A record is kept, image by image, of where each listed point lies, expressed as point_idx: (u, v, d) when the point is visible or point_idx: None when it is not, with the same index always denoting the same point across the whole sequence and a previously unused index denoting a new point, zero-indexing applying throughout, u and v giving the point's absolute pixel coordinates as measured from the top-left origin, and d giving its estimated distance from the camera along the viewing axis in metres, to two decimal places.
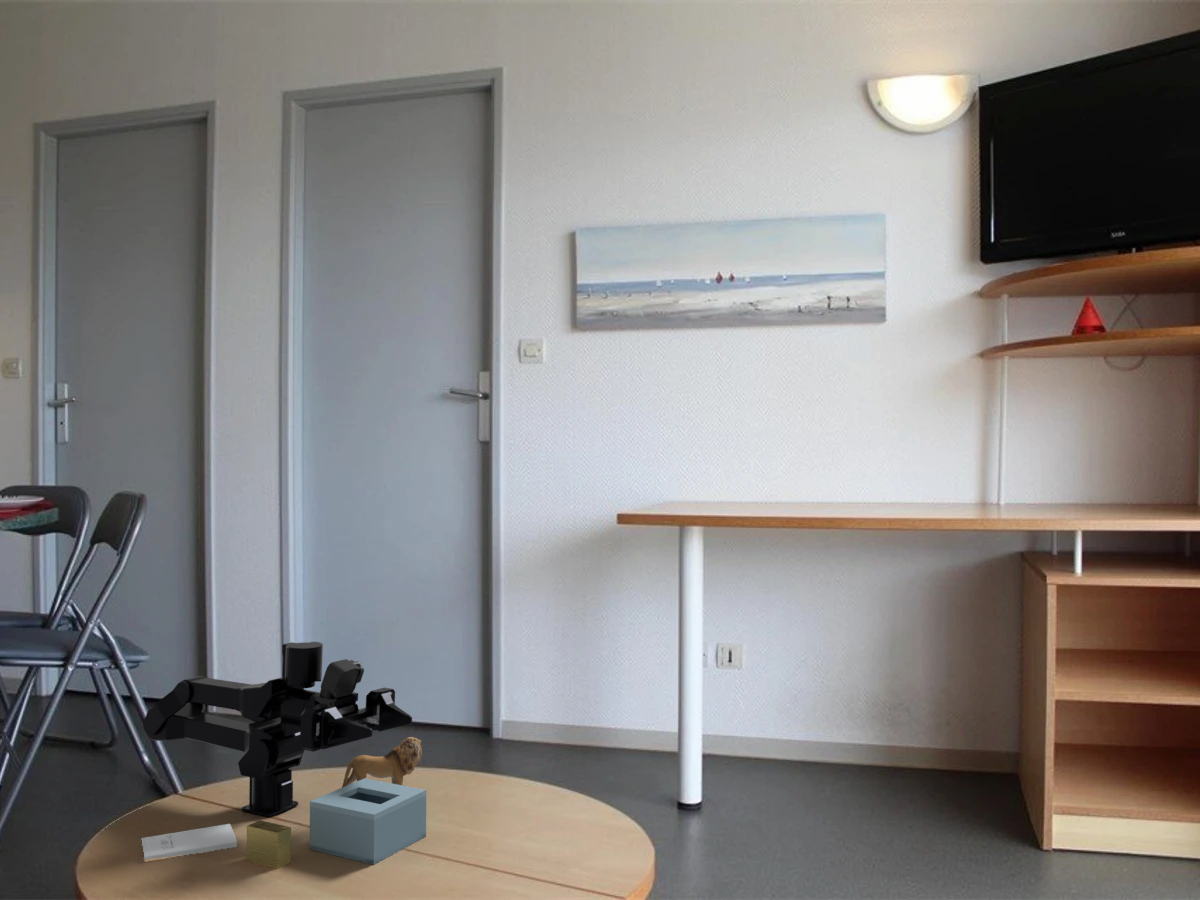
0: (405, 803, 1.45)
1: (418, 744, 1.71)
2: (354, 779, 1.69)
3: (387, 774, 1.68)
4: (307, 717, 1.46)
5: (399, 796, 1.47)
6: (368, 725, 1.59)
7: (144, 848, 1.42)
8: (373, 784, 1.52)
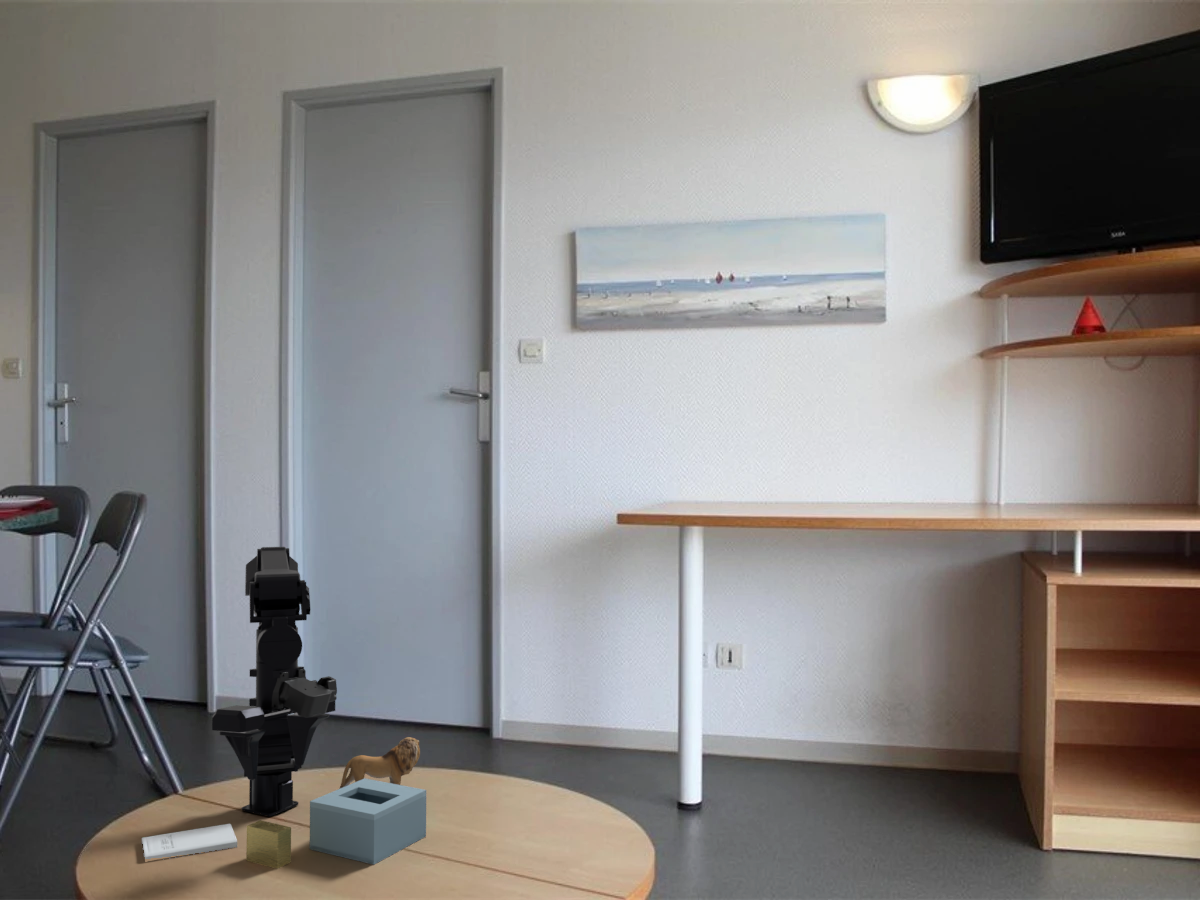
0: (405, 803, 1.45)
1: (416, 744, 1.71)
2: (352, 779, 1.69)
3: (385, 774, 1.68)
4: (236, 725, 1.32)
5: (399, 796, 1.47)
6: None
7: (144, 848, 1.42)
8: (373, 784, 1.52)
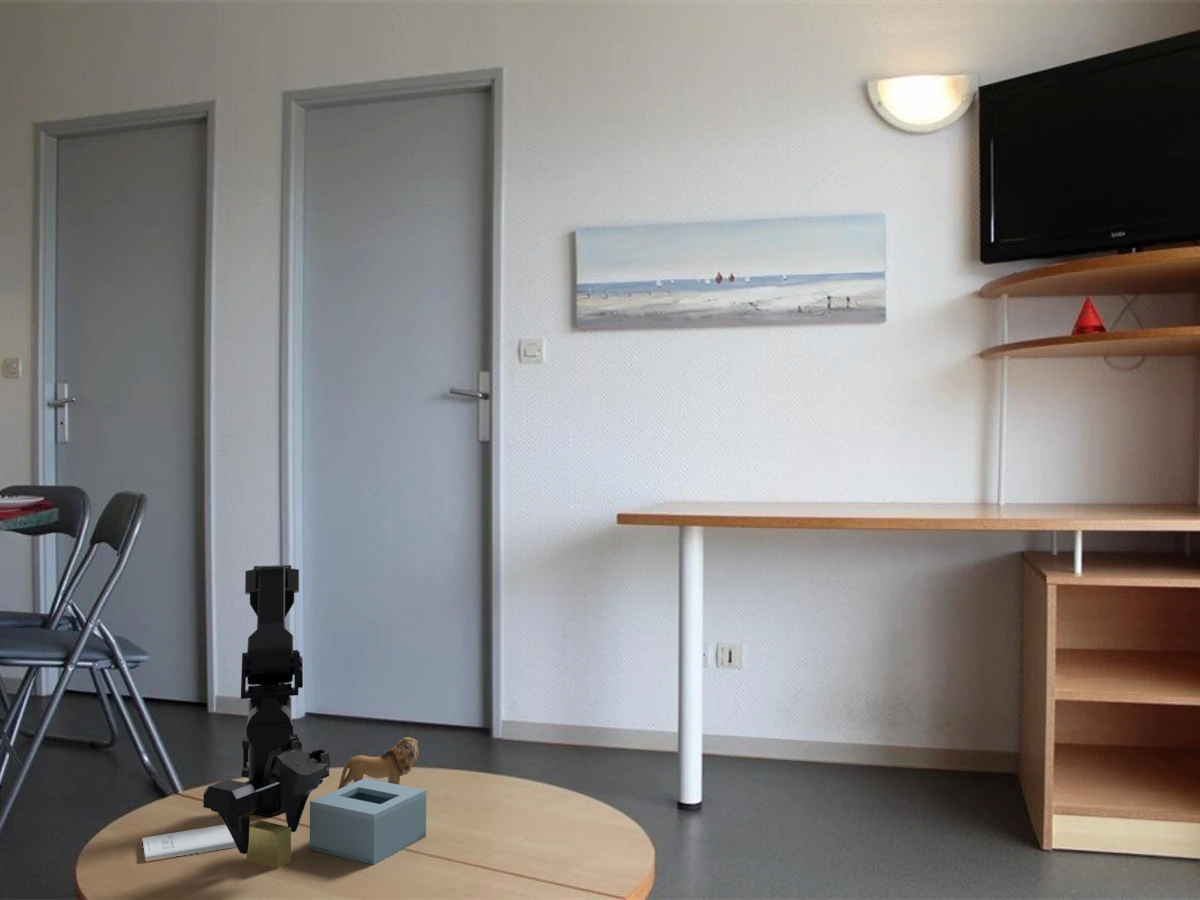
0: (405, 803, 1.45)
1: (415, 744, 1.71)
2: (351, 779, 1.69)
3: (384, 774, 1.68)
4: (227, 805, 1.31)
5: (399, 796, 1.47)
6: None
7: (145, 848, 1.42)
8: (373, 784, 1.52)
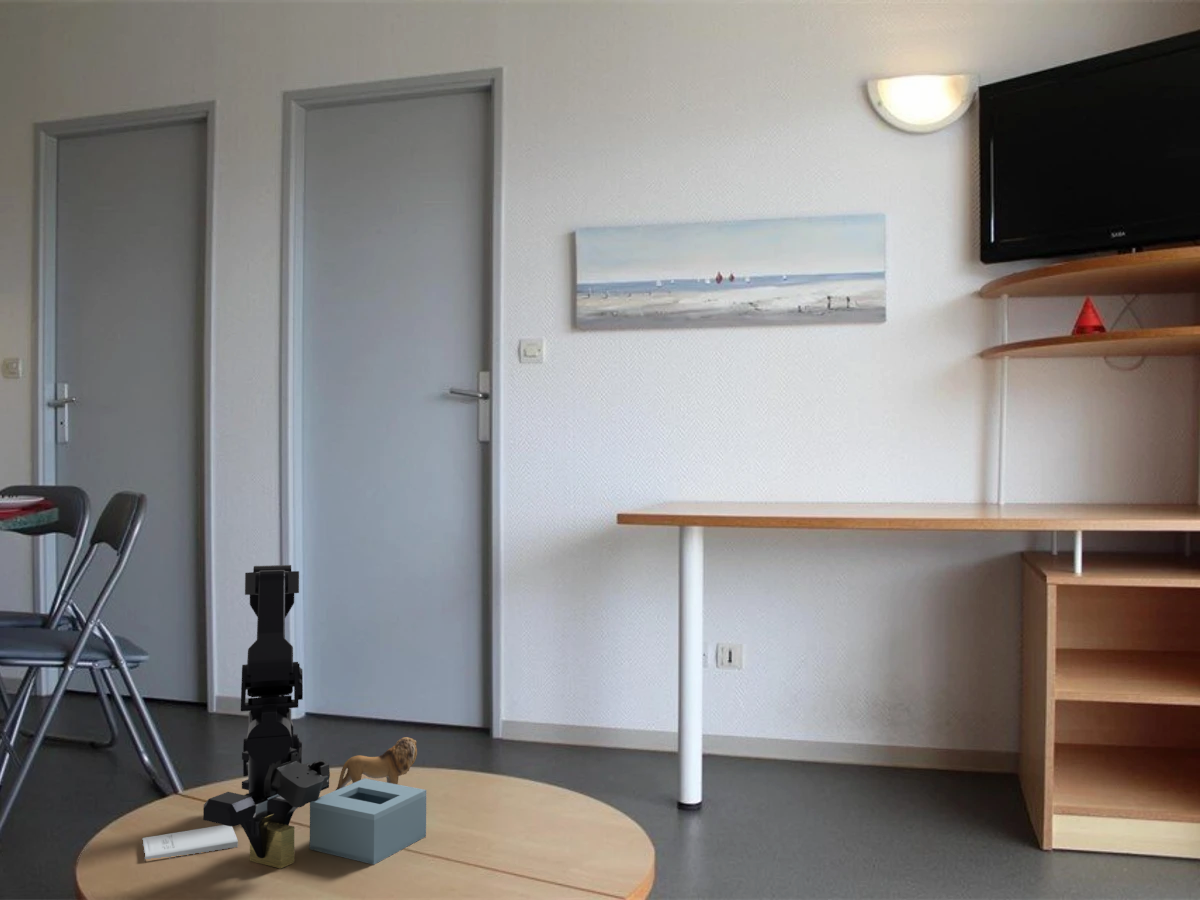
0: (405, 803, 1.45)
1: (413, 744, 1.71)
2: (349, 779, 1.69)
3: (382, 774, 1.68)
4: (227, 818, 1.31)
5: (399, 796, 1.47)
6: None
7: (145, 848, 1.42)
8: (373, 784, 1.52)
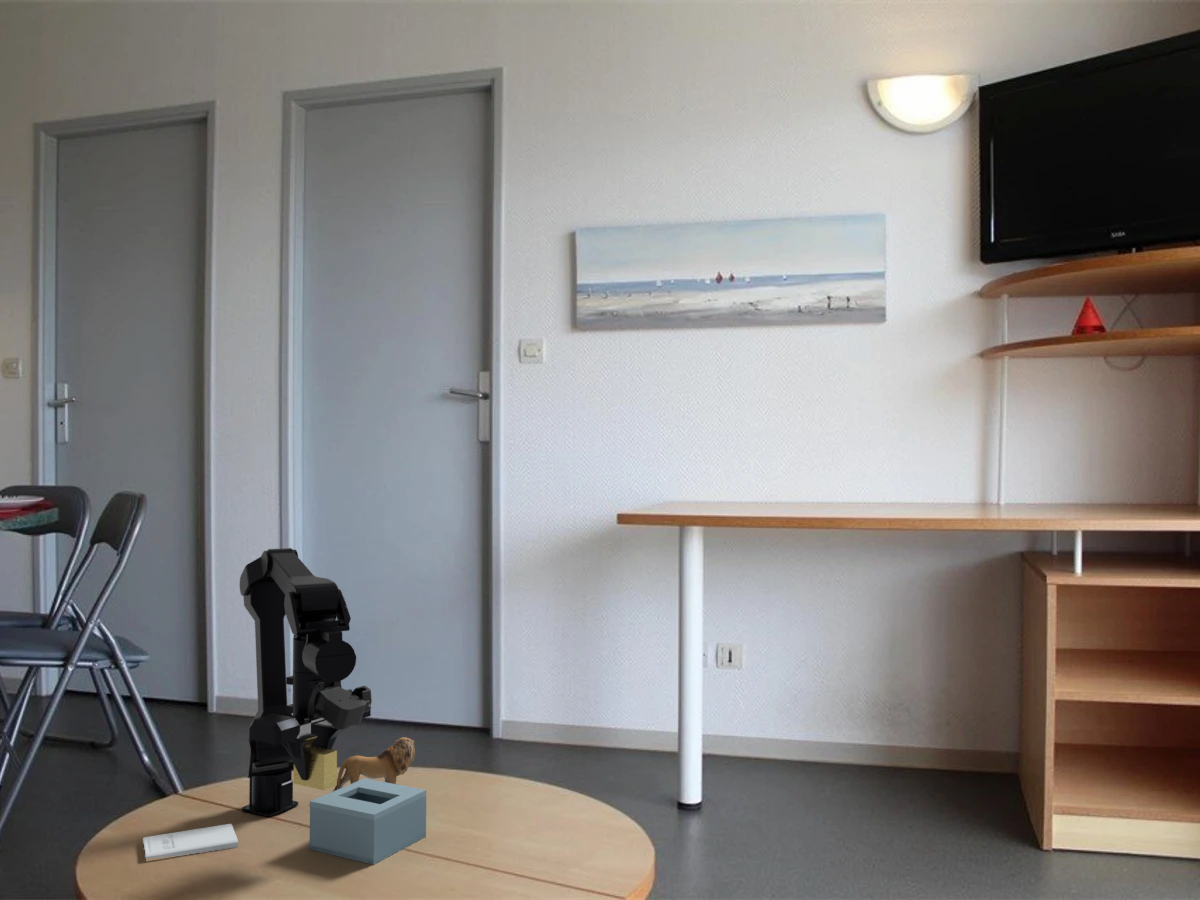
0: (405, 803, 1.45)
1: (411, 744, 1.71)
2: (347, 780, 1.69)
3: (380, 774, 1.68)
4: (272, 737, 1.34)
5: (399, 796, 1.47)
6: None
7: (145, 848, 1.42)
8: (373, 784, 1.52)
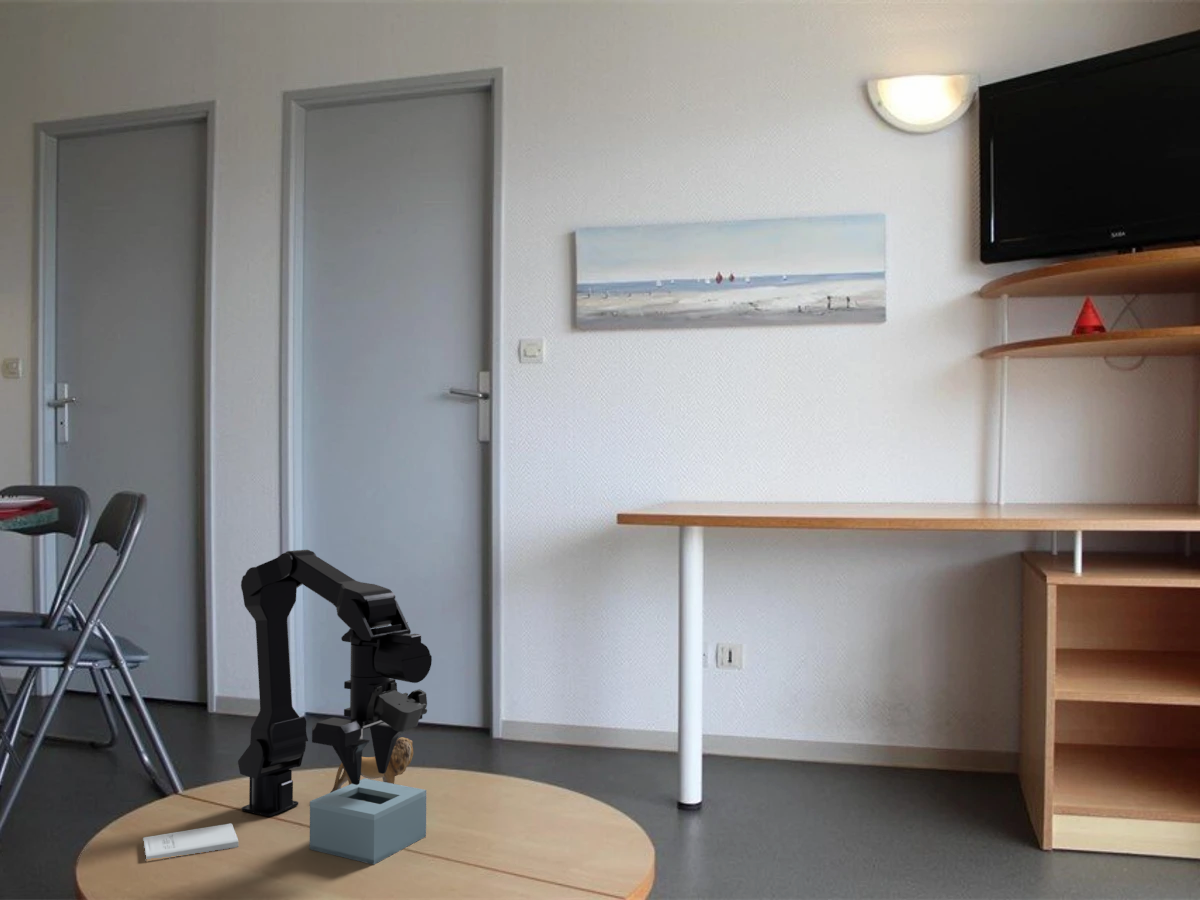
0: (405, 803, 1.45)
1: (410, 744, 1.71)
2: (345, 780, 1.69)
3: (379, 775, 1.68)
4: (336, 740, 1.38)
5: (399, 796, 1.47)
6: None
7: (146, 848, 1.42)
8: (373, 784, 1.52)
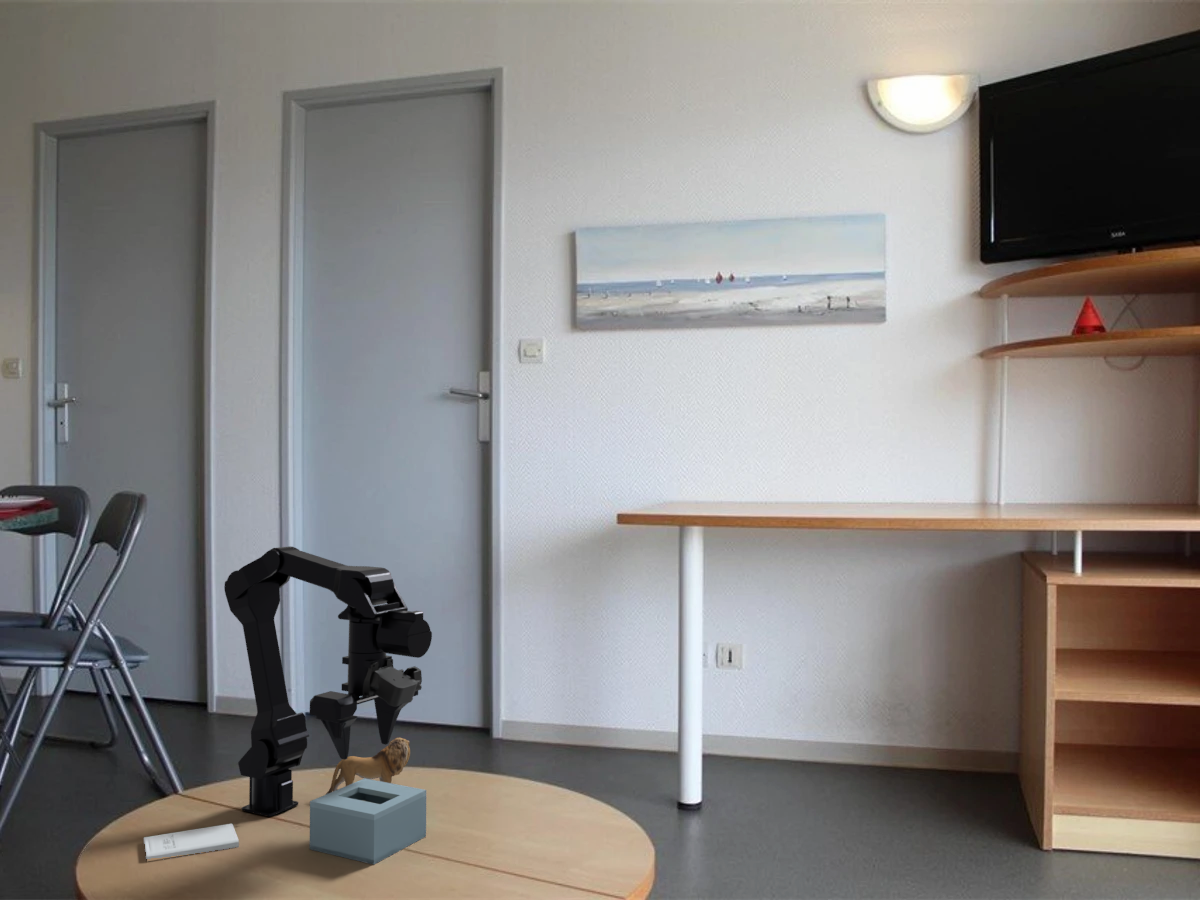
0: (405, 803, 1.45)
1: (406, 745, 1.71)
2: (342, 780, 1.68)
3: (375, 775, 1.68)
4: (332, 712, 1.43)
5: (399, 796, 1.47)
6: None
7: (146, 848, 1.42)
8: (373, 784, 1.52)
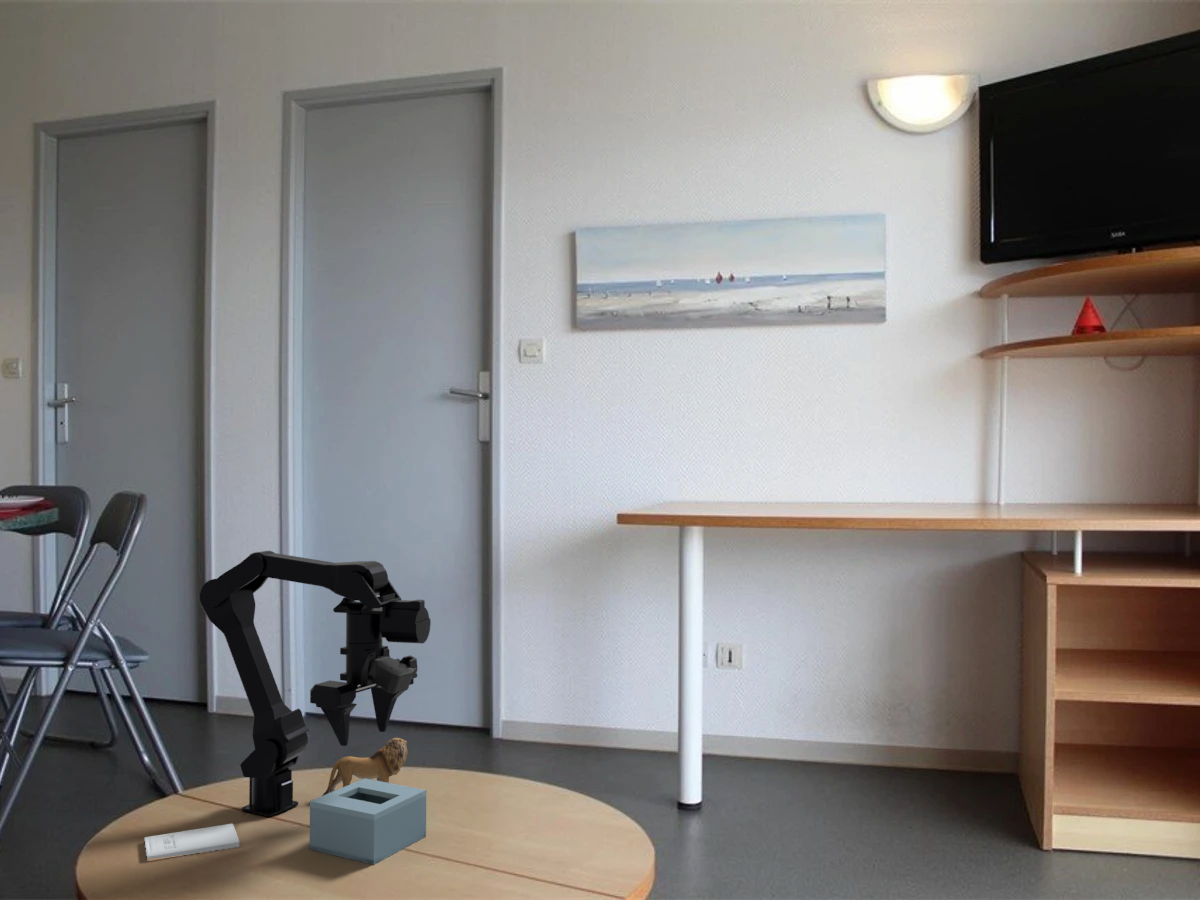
0: (405, 803, 1.45)
1: (404, 745, 1.71)
2: (339, 781, 1.68)
3: (373, 775, 1.68)
4: (332, 700, 1.49)
5: (399, 796, 1.47)
6: None
7: (147, 848, 1.42)
8: (373, 784, 1.52)
